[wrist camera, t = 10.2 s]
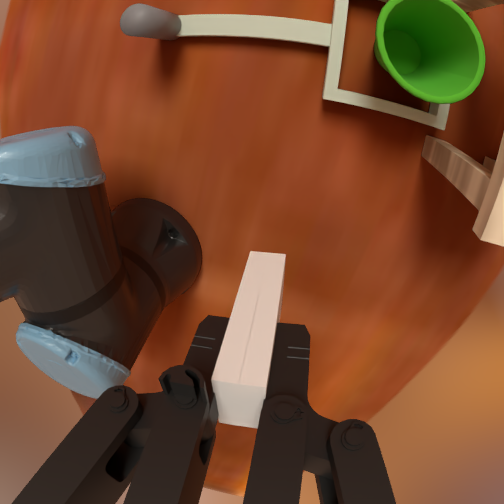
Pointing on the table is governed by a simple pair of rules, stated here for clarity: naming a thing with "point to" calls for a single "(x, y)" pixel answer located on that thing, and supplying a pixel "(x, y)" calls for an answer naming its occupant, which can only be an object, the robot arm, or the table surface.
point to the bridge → (474, 169)
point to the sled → (277, 28)
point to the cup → (430, 49)
